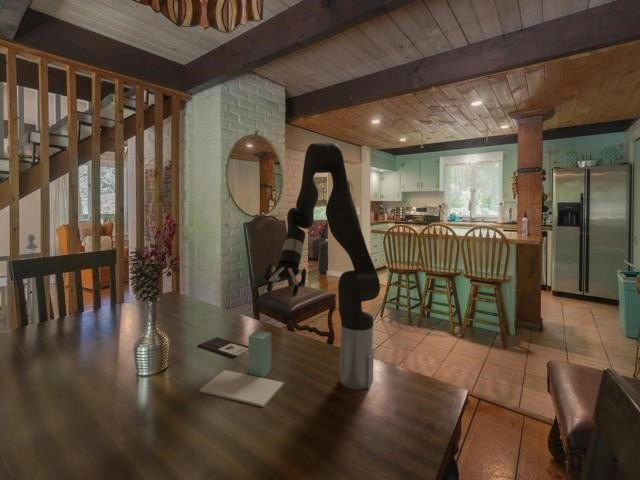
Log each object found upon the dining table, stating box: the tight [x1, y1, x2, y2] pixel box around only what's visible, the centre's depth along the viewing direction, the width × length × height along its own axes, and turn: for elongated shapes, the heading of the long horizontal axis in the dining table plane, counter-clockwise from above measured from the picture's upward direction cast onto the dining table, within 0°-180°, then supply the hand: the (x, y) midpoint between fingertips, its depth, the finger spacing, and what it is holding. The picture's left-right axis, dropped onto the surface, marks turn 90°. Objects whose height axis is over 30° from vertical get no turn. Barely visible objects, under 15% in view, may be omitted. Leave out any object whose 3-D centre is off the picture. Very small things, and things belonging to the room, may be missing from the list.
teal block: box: [248, 330, 272, 378], centre depth 101 cm, size 5×5×12 cm
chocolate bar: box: [197, 336, 249, 359], centre depth 119 cm, size 9×1×18 cm
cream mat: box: [198, 369, 285, 408], centre depth 92 cm, size 20×12×1 cm, turn 70°
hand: (281, 294), depth 113 cm, fingers open, 8 cm apart
